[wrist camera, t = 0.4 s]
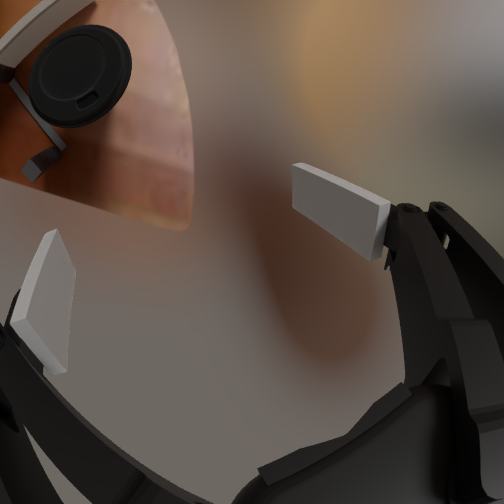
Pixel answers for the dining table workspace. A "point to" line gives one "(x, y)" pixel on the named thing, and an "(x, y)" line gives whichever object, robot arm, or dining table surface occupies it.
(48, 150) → the post
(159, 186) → the dining table surface
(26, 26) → the gate
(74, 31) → the coffee cup
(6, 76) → the hinge post
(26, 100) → the bar
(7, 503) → the robot arm
